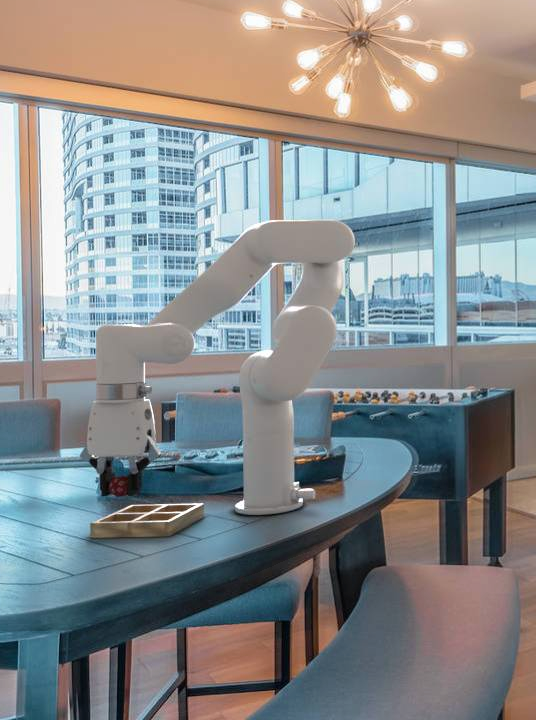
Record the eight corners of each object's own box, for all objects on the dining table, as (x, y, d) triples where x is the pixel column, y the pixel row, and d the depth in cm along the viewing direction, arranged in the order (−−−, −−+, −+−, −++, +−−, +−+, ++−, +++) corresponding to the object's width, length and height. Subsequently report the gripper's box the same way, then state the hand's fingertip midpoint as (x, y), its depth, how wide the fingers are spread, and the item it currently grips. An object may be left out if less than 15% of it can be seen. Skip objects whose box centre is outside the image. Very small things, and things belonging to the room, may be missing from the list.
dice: (124, 494, 147) (124, 472, 147) (138, 496, 145) (138, 474, 145) (103, 498, 144) (103, 475, 144) (117, 500, 142) (117, 478, 142)
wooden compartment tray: (204, 516, 155) (203, 503, 155) (169, 536, 141) (169, 521, 141) (131, 518, 154) (131, 504, 154) (90, 537, 141) (89, 523, 141)
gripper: (178, 390, 148) (178, 489, 148) (85, 391, 148) (85, 490, 148) (157, 394, 141) (157, 499, 141) (60, 395, 140) (60, 500, 140)
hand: (121, 493), depth 144 cm, fingers closed on dice, 3 cm apart
